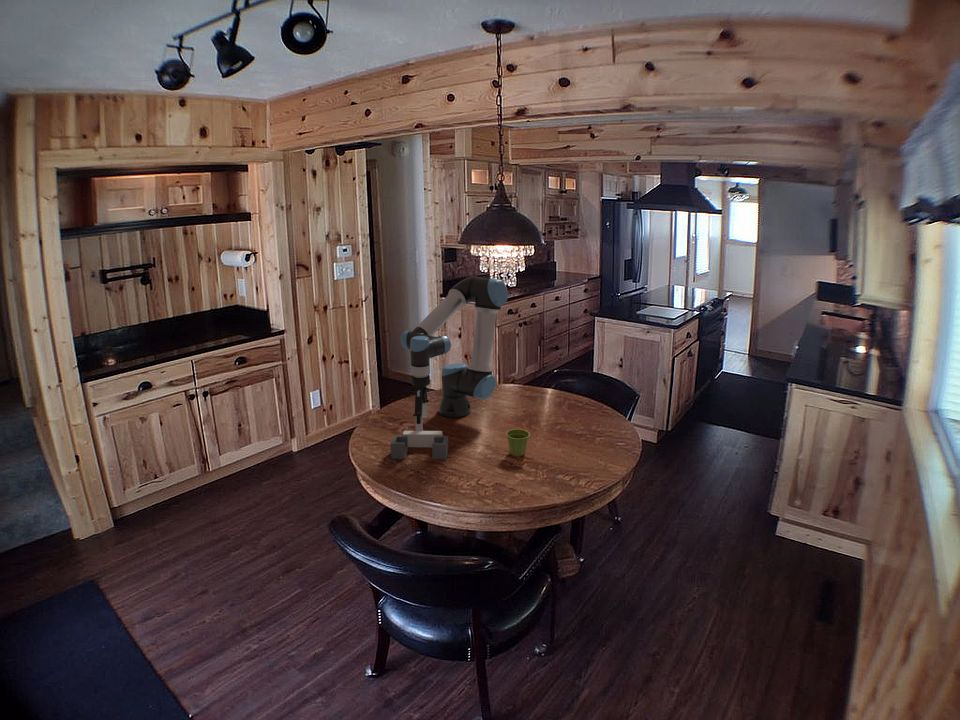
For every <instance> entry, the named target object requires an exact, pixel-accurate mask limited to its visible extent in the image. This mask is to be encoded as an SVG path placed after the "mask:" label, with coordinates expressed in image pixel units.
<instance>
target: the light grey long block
mask: <svg viewBox="0 0 960 720" xmlns="http://www.w3.org/2000/svg"><path fill="white" fill-rule="evenodd" d="M402 435H408V448H432V443H434V436H443V430H423V431H416V430H403V432H402Z"/></svg>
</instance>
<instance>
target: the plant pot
mask: <svg viewBox="0 0 960 720" xmlns="http://www.w3.org/2000/svg"><path fill="white" fill-rule="evenodd" d="M505 434H506V435H505V436H507V440H508V446H509V447H508V448H509V454H510V455H512V456H513V457H522V456H524V455H525V454H526V451H527V450H526V449H527V444H528V440H529V437H530V435H531V433H530V432H529V431H528V430H525V429H520V428H514V429H510V430H509V429H508V431H506V433H505Z"/></svg>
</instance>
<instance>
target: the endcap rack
mask: <svg viewBox="0 0 960 720" xmlns="http://www.w3.org/2000/svg"><path fill="white" fill-rule="evenodd" d="M408 452H409V447H408V435H403V434H397V435H395V434H394V435H393V437H392V440H391V442H390V458H391V460H392V459H393V460H394V459H396V460H397V459H398V460H400V459H401V460H405V459H406V457H407V454H408ZM431 454H432V456H431V457H432V460H447V458H448V454H449V435H442V436H434V443H432V447H431Z"/></svg>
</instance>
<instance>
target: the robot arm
mask: <svg viewBox="0 0 960 720" xmlns="http://www.w3.org/2000/svg"><path fill="white" fill-rule="evenodd" d="M508 291H509V290H508V287H507V285H506V283H505V282H504V281H503V280H501V279H498V278H494V277H493V278H490V277H482V276H475V275H473V276H469V277H466V278H464V279H462V280H460V281H459V282H457V283H456V284H455V285H453V287H452V288H450V289H449V291H448V294H447V295H446V297H445V298H444V299H442V301H441V302H439V303H438V304H437V306H436V307H435V308H433V309H432V311H430V312H429V314H427V316H425V317H424V319H422V320H421V321H420V322H419V324H417V326H416V327H415V328H414V329H413V330H412V331H411V330H406V331H404V332H402V334H401V335H400V345H401V346H402V348H404V349H407V350H410V366H409V369H410V374H411V376H410V378H411V379H410V384H411V385H412V386H414V387H416V388H415V390H414V391H415V392H414V394H415V400H414V413H413V415H412V416H413V417H415V419H414V420H415V422H414V423H415V431H424V427H423V425H424V424H423V421H424V420H423V419H427V418H428V403H429V399H428V392H427V386H429V385H430V384H431V376H430V375H431V364H430V363H431V362H430V361H431V360H430V359H432V358H434V357H438V356H442V355H444V354H447V353H448V352H450V351H451V348H452V343H451V340H450V339H449V337H448V336H446V335H438V336H434V335H435V334H436V332H438V330H439V329H441V327H442V326H443V325H445V323H447V321H449V319H450V318H451V317H452V316H453V315H454V314H455V313H456V312H457V311H458V310H459V309H460V308H463V307H465V306H467V304H468V303H474V308H475V310H476V311H477V312H476V320H475V321H476V322H475V328H474V336H473V341H472V342H473V344H472V350H471V351H472V352H471V358H470V359H471V360H470V364H468V366H467V363H462V362H460V363H457V362H455V363H450V364H447V365H444V366H443V367H442V368H441V392H442V393H441V394H442V395H441V400H440V402H439V406H438V413H439V414H440V415H441V416H443V417H448V418H462V417H465V416H467V415H469V414H471V412H472V406H471V403H470V401H469V397H472V398H475V399H476V400H477V399H479V400H486V399H488V398H490V397H491V396H492V395H493V393H494V391H495V389H496V385H497V379H496V377H495V376H494V375H493V368H491V366H490V365H491V357H492V351H493V350H492V349H493V344H494V342H493V341H494V336H495V334H494V333H495V327H496V320H497V319H496V318H497V314H498V313H499V312H500V311H501V309H502V307H503V306H505V304H506V303H507V301H508V298H509V292H508Z"/></svg>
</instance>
